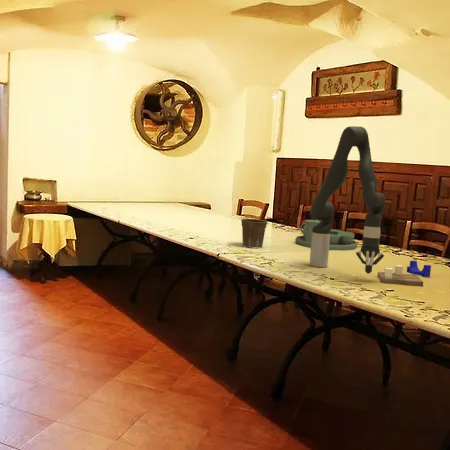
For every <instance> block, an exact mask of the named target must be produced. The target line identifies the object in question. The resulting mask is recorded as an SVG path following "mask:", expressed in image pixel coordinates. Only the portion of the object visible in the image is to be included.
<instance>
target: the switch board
mask: <svg viewBox="0 0 450 450" xmlns="http://www.w3.org/2000/svg"><path fill="white" fill-rule="evenodd" d="M384 272H385V271H378V272H377V275H376V276H377V277H378V280H379V281H380V282H381V283H382V284H392V285H401V286H413V287H423V286H424V281H423V280H422V279H421V278H420V277H419V275H414V274H410V273H408V274H406V273H402V275H395V272H392V278H386V277H384Z"/></svg>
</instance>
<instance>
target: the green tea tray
mask: <svg viewBox="0 0 450 450" xmlns="http://www.w3.org/2000/svg"><path fill="white" fill-rule="evenodd" d="M320 221H321V220H317V219H305V222H302V224H301V225H300V227H299V228H300V232H301V234H302V235H297V236H296V237H295V244H297V245H300V246H302V247H306V248H311V239H312V228H313V226H315V225H317V224H319V223H320ZM354 238H355V232H351V231H350V232H349V231H342V230H341V229H333V228H332V229H331V231H330V243H329V251H349V250H355V249H356V248H358V245H359V243H358V242H357V241H355V240H354Z"/></svg>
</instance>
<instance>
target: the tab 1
mask: <svg viewBox="0 0 450 450" xmlns="http://www.w3.org/2000/svg"><path fill="white" fill-rule="evenodd" d="M383 272H384V277H386V278H392V273H393V268H392V267H385V268H384V271H383Z"/></svg>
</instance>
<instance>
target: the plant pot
mask: <svg viewBox="0 0 450 450" xmlns="http://www.w3.org/2000/svg"><path fill="white" fill-rule="evenodd" d="M240 221H241V227H242V229H241V231H242V246H243V247H244V246H246V247H245V248H248V247H249V248H251V247H261V248H263V244H264V239H265V238H264V237H265V233H266V228H267V224H268V221H267V220H263V219H257V218H241V219H240Z"/></svg>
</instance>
